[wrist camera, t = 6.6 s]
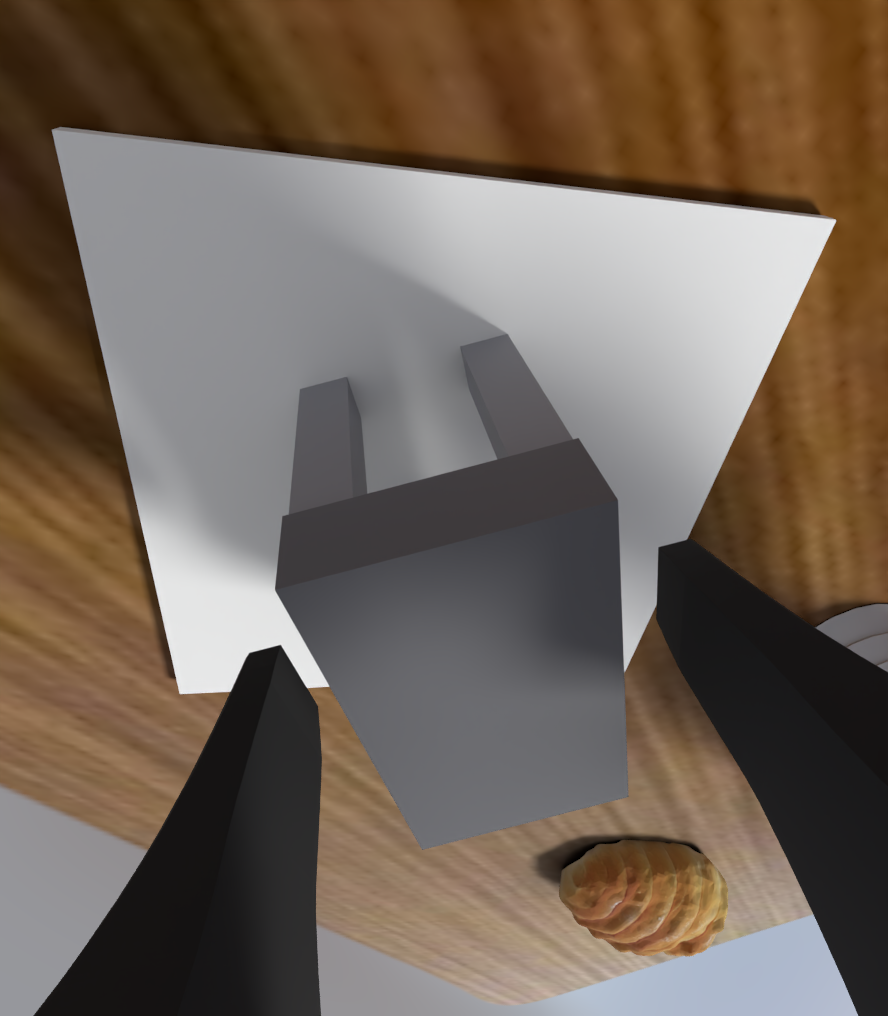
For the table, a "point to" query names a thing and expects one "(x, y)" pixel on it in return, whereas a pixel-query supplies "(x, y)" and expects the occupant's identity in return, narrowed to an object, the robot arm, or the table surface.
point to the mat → (402, 347)
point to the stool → (465, 609)
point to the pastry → (647, 897)
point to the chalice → (862, 632)
